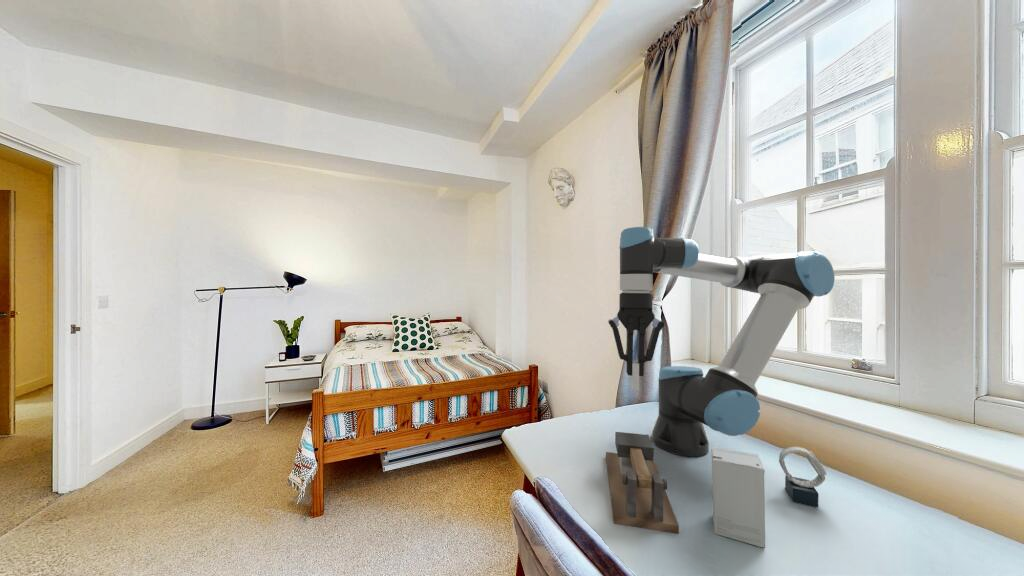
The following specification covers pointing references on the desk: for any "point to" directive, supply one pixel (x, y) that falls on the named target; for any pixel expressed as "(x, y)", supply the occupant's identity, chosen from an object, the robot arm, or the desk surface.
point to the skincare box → (738, 496)
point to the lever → (636, 455)
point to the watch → (803, 488)
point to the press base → (638, 497)
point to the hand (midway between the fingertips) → (634, 388)
